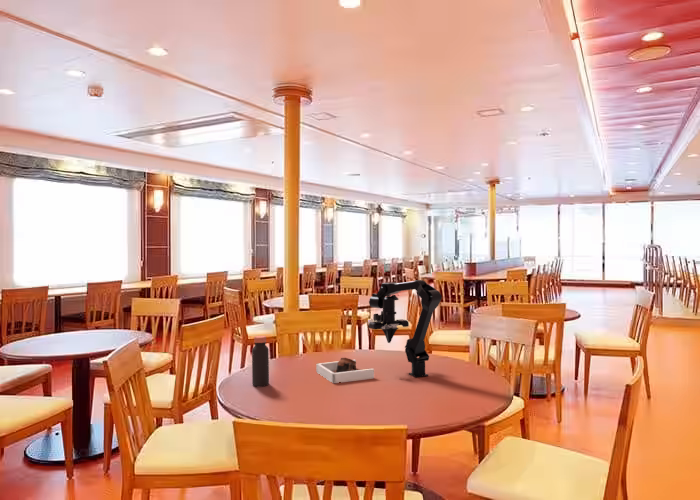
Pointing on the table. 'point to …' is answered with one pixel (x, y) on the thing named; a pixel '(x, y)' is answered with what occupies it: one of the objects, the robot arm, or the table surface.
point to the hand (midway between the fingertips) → (388, 342)
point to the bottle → (260, 362)
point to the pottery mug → (345, 365)
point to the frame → (342, 373)
